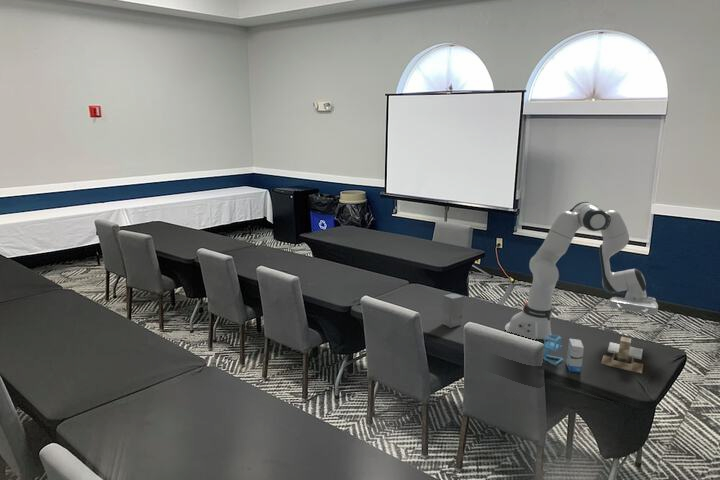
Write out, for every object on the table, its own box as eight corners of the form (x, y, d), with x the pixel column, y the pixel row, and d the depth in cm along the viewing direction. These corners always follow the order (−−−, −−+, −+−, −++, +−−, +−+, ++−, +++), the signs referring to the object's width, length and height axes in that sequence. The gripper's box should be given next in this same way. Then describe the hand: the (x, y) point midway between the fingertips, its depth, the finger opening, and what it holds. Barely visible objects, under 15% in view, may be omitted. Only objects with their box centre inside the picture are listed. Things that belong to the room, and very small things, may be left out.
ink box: (581, 373, 224) (584, 347, 221) (569, 371, 225) (572, 346, 222) (577, 363, 232) (580, 339, 229) (565, 362, 233) (568, 338, 230)
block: (616, 365, 231) (620, 340, 228) (617, 361, 235) (621, 336, 232) (626, 367, 229) (630, 342, 226) (627, 363, 233) (631, 338, 230)
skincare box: (450, 328, 266) (452, 299, 262) (440, 323, 272) (442, 294, 268) (462, 325, 271) (464, 296, 267) (453, 320, 277) (454, 292, 273)
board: (607, 351, 244) (607, 349, 244) (609, 343, 252) (610, 342, 252) (641, 359, 237) (641, 357, 237) (642, 351, 245) (642, 349, 245)
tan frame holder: (600, 363, 232) (601, 357, 231) (603, 355, 240) (604, 349, 239) (641, 373, 224) (643, 367, 224) (643, 365, 232) (644, 358, 231)
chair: (545, 354, 241) (548, 330, 238) (563, 360, 235) (566, 335, 232) (537, 359, 235) (540, 334, 232) (555, 366, 230) (558, 340, 227)
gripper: (611, 291, 253) (607, 300, 241) (659, 299, 242) (657, 309, 231) (609, 304, 254) (605, 313, 243) (657, 311, 244) (656, 322, 232)
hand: (631, 311), depth 237 cm, fingers open, 8 cm apart
